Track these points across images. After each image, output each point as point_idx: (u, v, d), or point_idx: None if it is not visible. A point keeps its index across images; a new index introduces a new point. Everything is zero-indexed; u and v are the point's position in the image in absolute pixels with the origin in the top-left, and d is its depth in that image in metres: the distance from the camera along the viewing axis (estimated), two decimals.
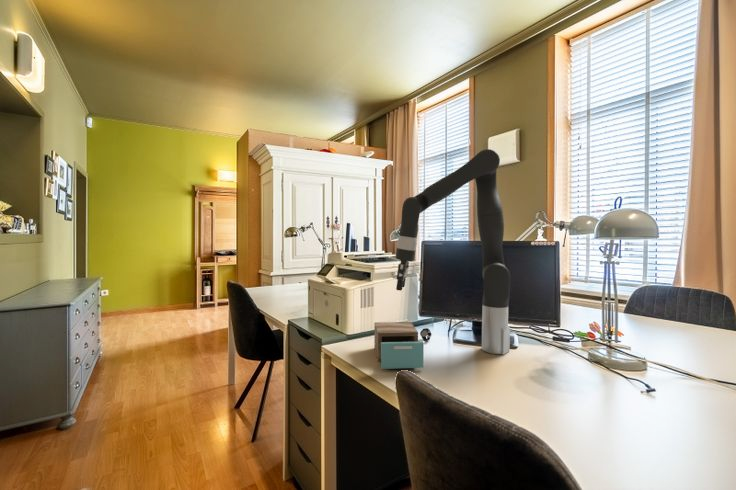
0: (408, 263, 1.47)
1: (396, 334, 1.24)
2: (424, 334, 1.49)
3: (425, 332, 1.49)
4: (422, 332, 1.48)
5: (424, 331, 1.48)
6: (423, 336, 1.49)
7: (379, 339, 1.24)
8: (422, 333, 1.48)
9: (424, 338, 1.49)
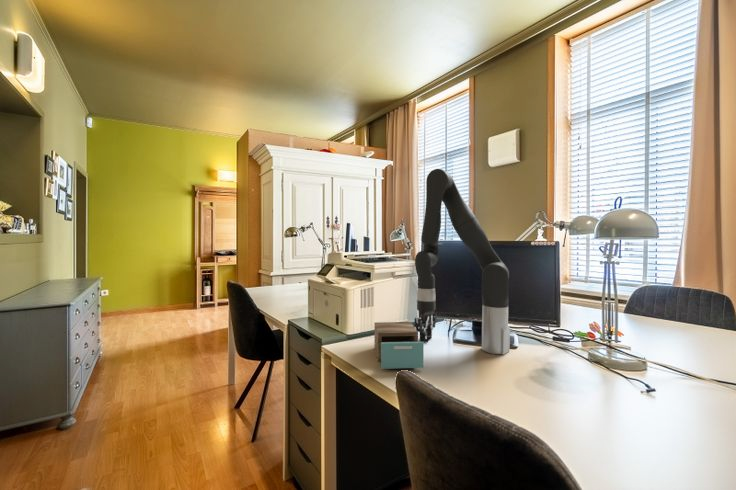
0: (435, 314, 1.51)
1: (396, 334, 1.24)
2: None
3: (425, 332, 1.48)
4: None
5: None
6: None
7: (379, 339, 1.24)
8: None
9: None
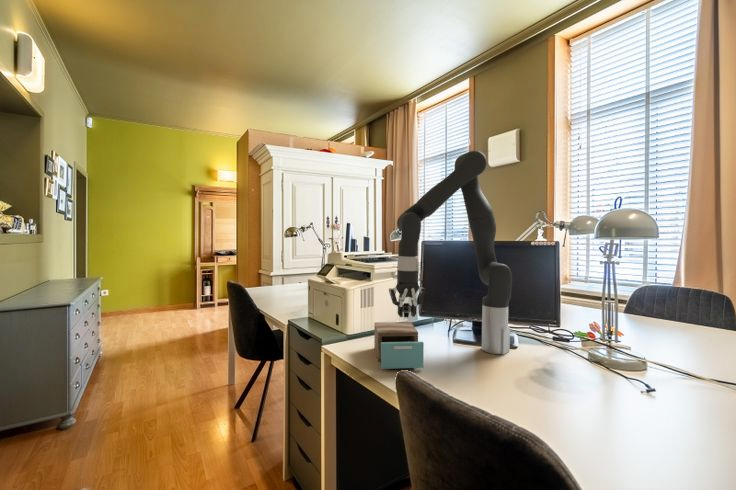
0: (423, 290, 1.29)
1: (396, 334, 1.24)
2: None
3: None
4: (403, 307, 1.30)
5: None
6: None
7: (379, 339, 1.24)
8: (403, 308, 1.30)
9: None
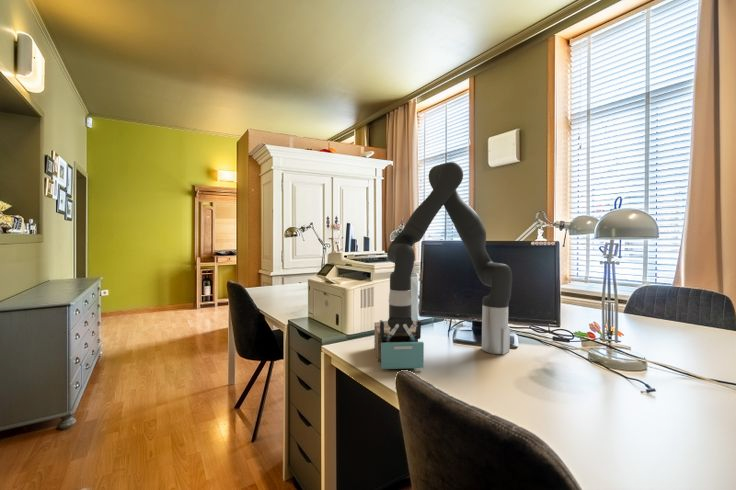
0: (418, 323, 1.19)
1: (396, 334, 1.24)
2: None
3: None
4: None
5: None
6: None
7: (379, 339, 1.24)
8: None
9: None
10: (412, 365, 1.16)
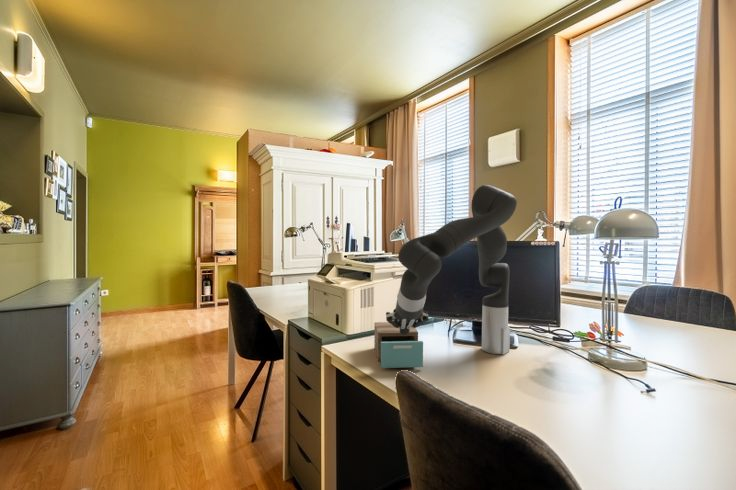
0: (425, 319, 1.04)
1: (396, 334, 1.24)
2: None
3: None
4: None
5: None
6: None
7: (379, 339, 1.24)
8: None
9: None
10: (411, 364, 1.16)
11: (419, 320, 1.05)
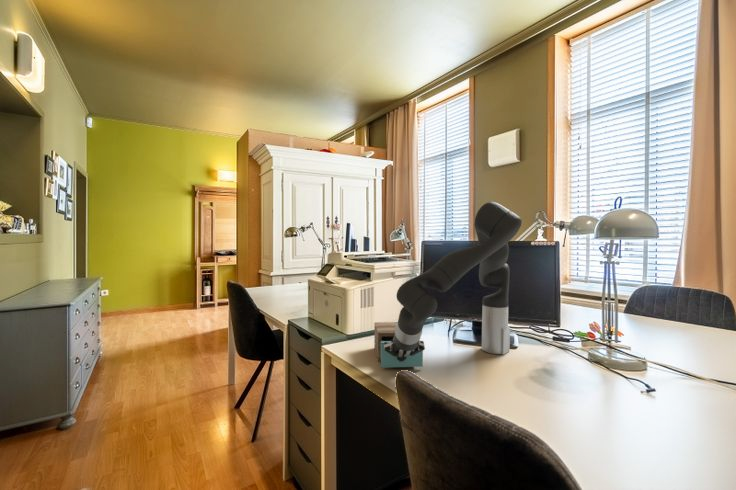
0: (422, 349, 1.09)
1: None
2: None
3: None
4: None
5: None
6: None
7: (379, 339, 1.24)
8: None
9: None
10: (411, 364, 1.17)
11: (416, 349, 1.10)
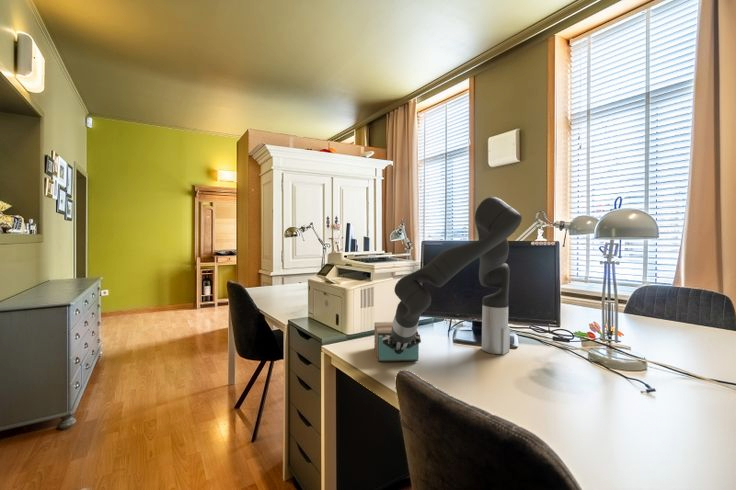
0: (418, 341, 1.15)
1: None
2: None
3: None
4: None
5: None
6: None
7: None
8: None
9: None
10: (408, 357, 1.23)
11: (412, 342, 1.17)
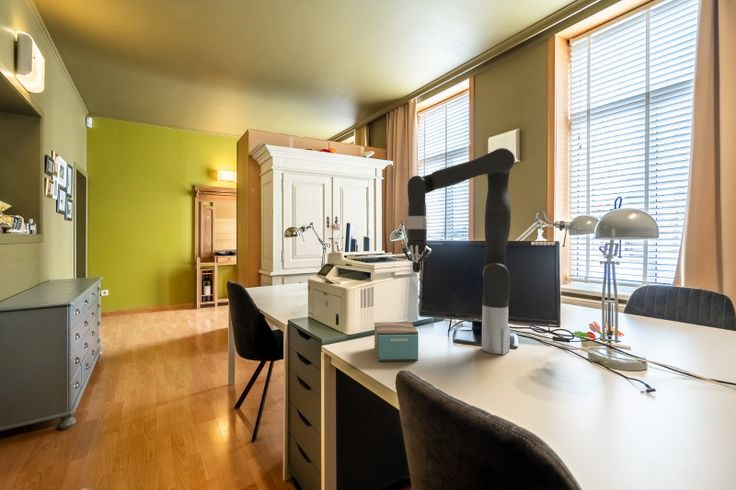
0: (426, 250, 1.36)
1: (396, 334, 1.24)
2: None
3: None
4: None
5: None
6: None
7: None
8: None
9: None
10: (407, 356, 1.24)
11: None
